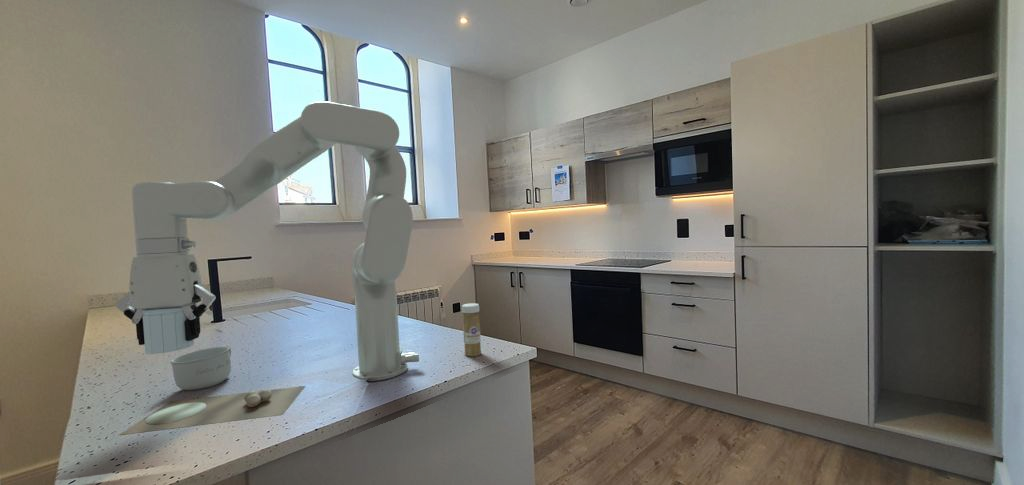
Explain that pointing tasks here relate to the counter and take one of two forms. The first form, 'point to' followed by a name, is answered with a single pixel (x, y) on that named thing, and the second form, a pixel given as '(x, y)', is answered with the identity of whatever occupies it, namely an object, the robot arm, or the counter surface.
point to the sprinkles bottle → (471, 329)
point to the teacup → (202, 368)
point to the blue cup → (165, 330)
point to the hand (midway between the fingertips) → (169, 340)
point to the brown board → (218, 409)
